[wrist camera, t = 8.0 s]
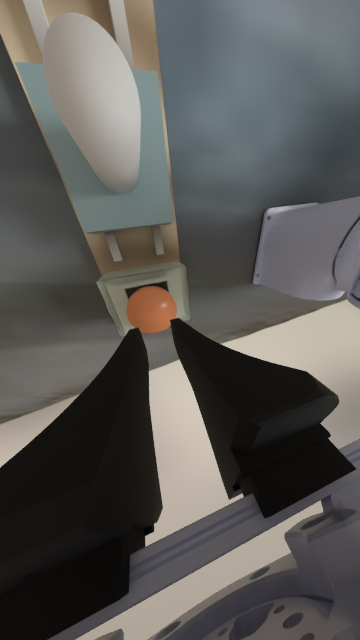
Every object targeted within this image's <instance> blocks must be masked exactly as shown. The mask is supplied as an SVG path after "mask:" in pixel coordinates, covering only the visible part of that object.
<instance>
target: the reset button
mask: <svg viewBox="0 0 360 640" xmlns="http://www.w3.org/2000/svg"><path fill="white" fill-rule="evenodd" d="M176 315H177V306H176V303H175V301H174V299H173V297H172V296H171V294H170V293H169V292H168V291H166V290H165V289H163V288H161V287H159V286H158V285H157V284H155V283H153V284H147V285H142V286H139V287H138V288H137V289H136V291H135V292H134V293H133V294H132V295H131V297H130V298H129V301H128V304H127V318H128V320H129V322H130V324H131V325H132V326H133V327H134V328H138V327H139V329H140V331H141V332H145V333H157V332H161V331H163V330H165V329H167V328H168V327H169V326H170V325H171V323H170V320H171V319H175V318H176Z"/></svg>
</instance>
